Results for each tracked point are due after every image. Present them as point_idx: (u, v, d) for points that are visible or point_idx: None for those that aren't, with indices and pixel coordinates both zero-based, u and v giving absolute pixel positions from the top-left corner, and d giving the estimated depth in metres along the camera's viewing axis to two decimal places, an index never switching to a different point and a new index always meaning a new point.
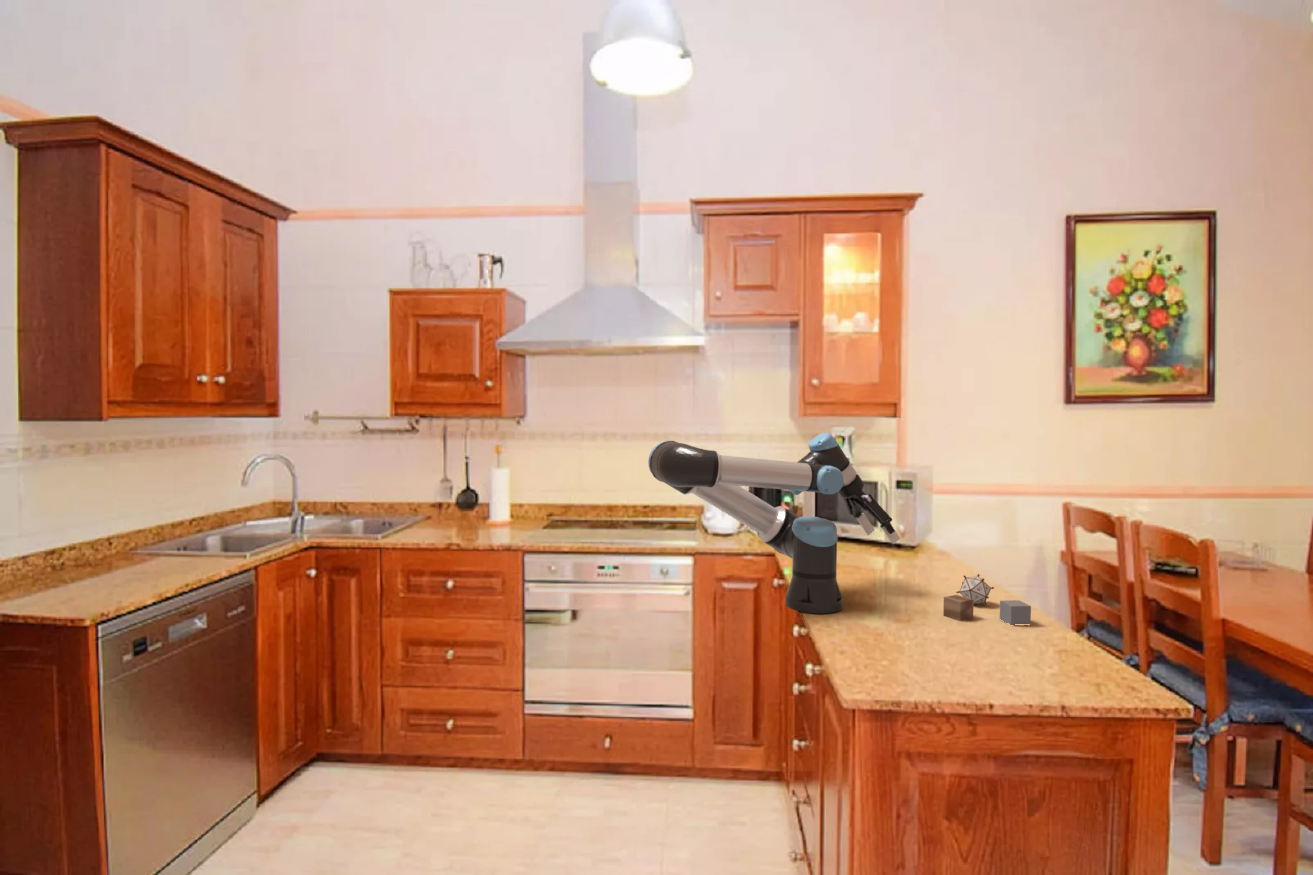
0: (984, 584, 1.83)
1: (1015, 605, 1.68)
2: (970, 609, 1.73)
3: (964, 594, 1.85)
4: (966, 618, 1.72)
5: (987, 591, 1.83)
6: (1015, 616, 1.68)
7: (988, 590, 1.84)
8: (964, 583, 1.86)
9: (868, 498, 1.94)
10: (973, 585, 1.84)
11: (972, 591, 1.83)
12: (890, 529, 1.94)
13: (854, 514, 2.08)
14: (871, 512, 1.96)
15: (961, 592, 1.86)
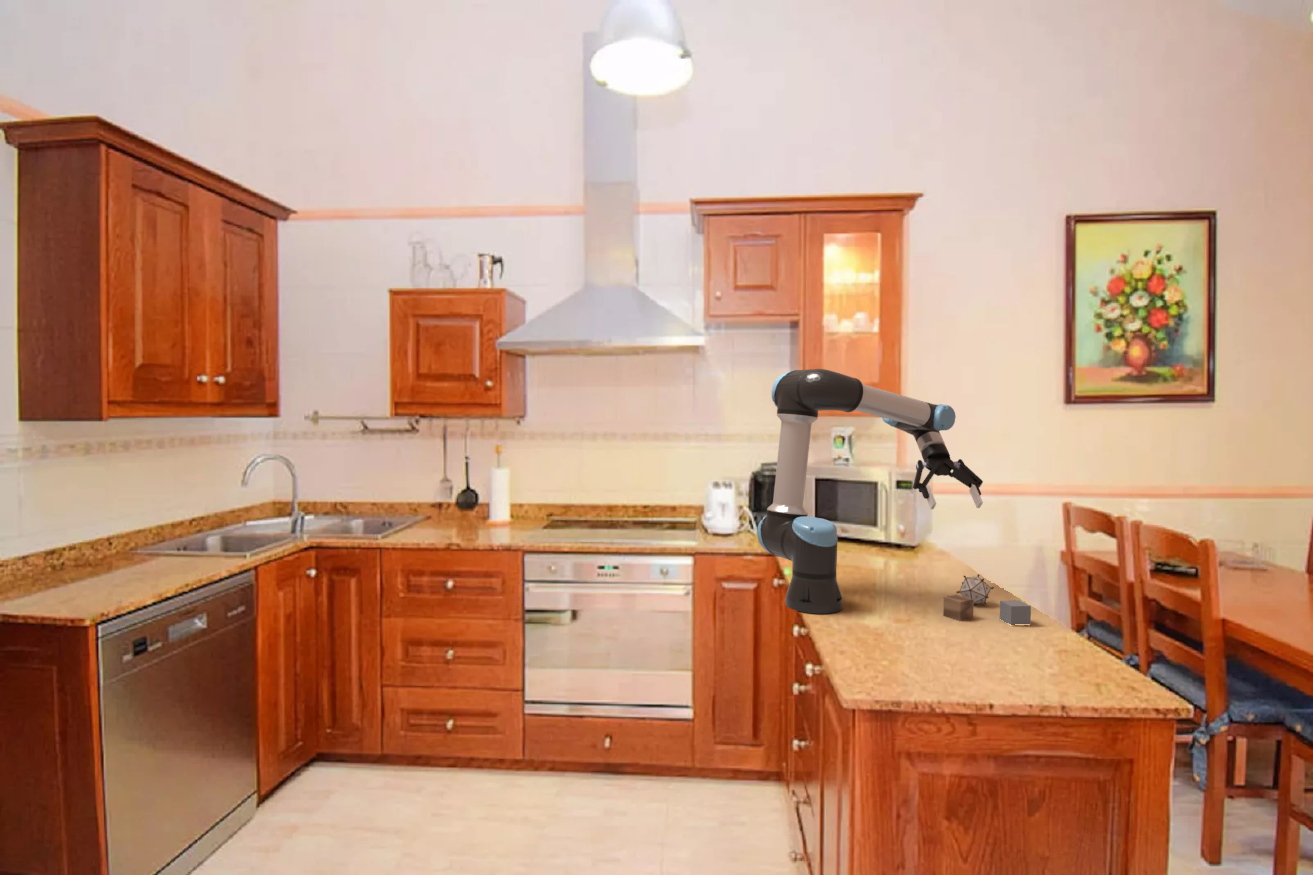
0: (984, 584, 1.83)
1: (1015, 605, 1.68)
2: (970, 609, 1.73)
3: (964, 594, 1.85)
4: (966, 618, 1.72)
5: (987, 591, 1.83)
6: (1015, 616, 1.68)
7: (988, 590, 1.84)
8: (964, 583, 1.86)
9: None
10: (973, 585, 1.84)
11: (972, 591, 1.83)
12: None
13: (926, 481, 1.99)
14: None
15: (961, 592, 1.86)
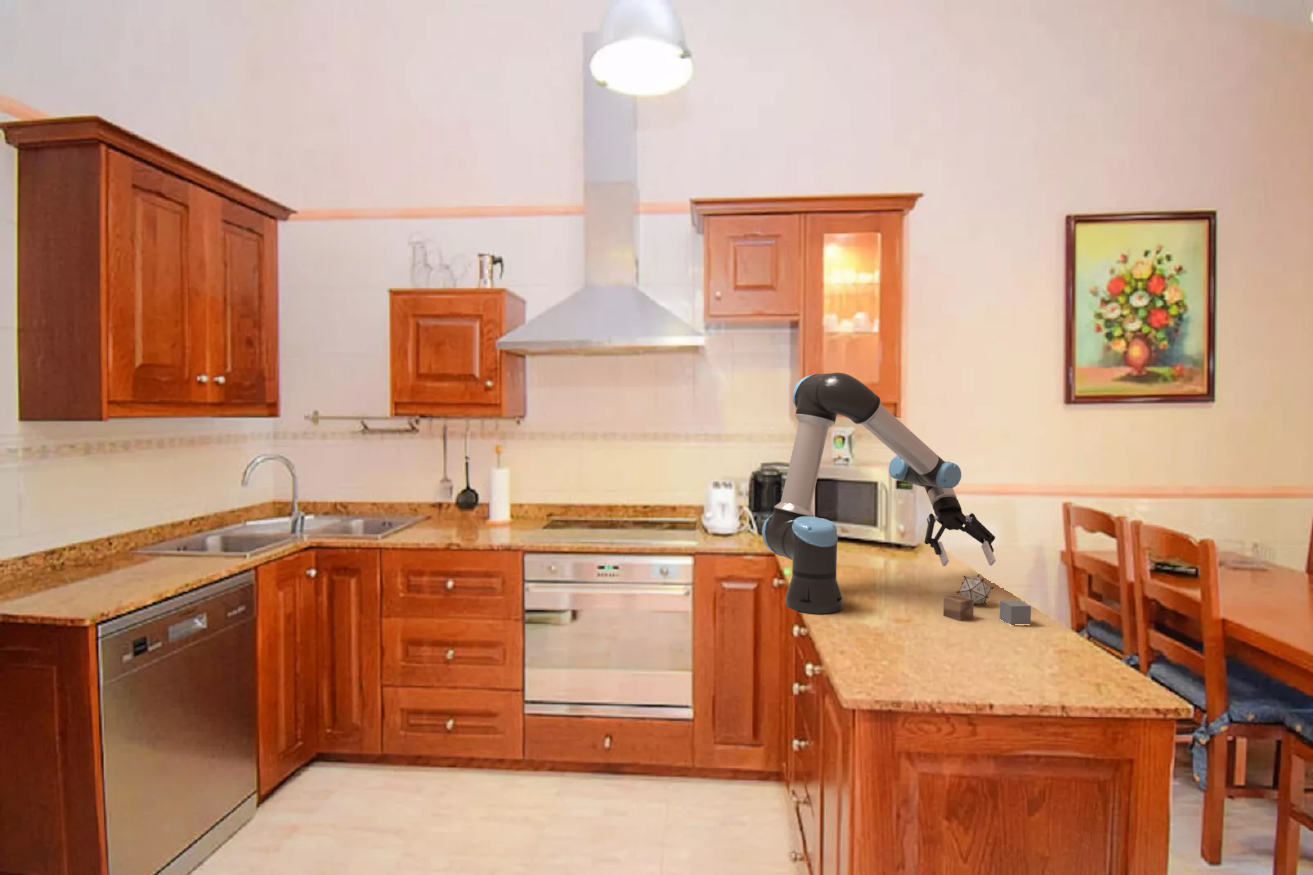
0: (984, 584, 1.83)
1: (1015, 605, 1.68)
2: (970, 609, 1.73)
3: (964, 594, 1.85)
4: (966, 618, 1.72)
5: (987, 591, 1.83)
6: (1015, 616, 1.68)
7: (988, 590, 1.84)
8: (964, 583, 1.86)
9: None
10: (973, 585, 1.84)
11: (972, 591, 1.83)
12: None
13: (938, 537, 1.95)
14: (975, 528, 1.98)
15: (961, 592, 1.86)
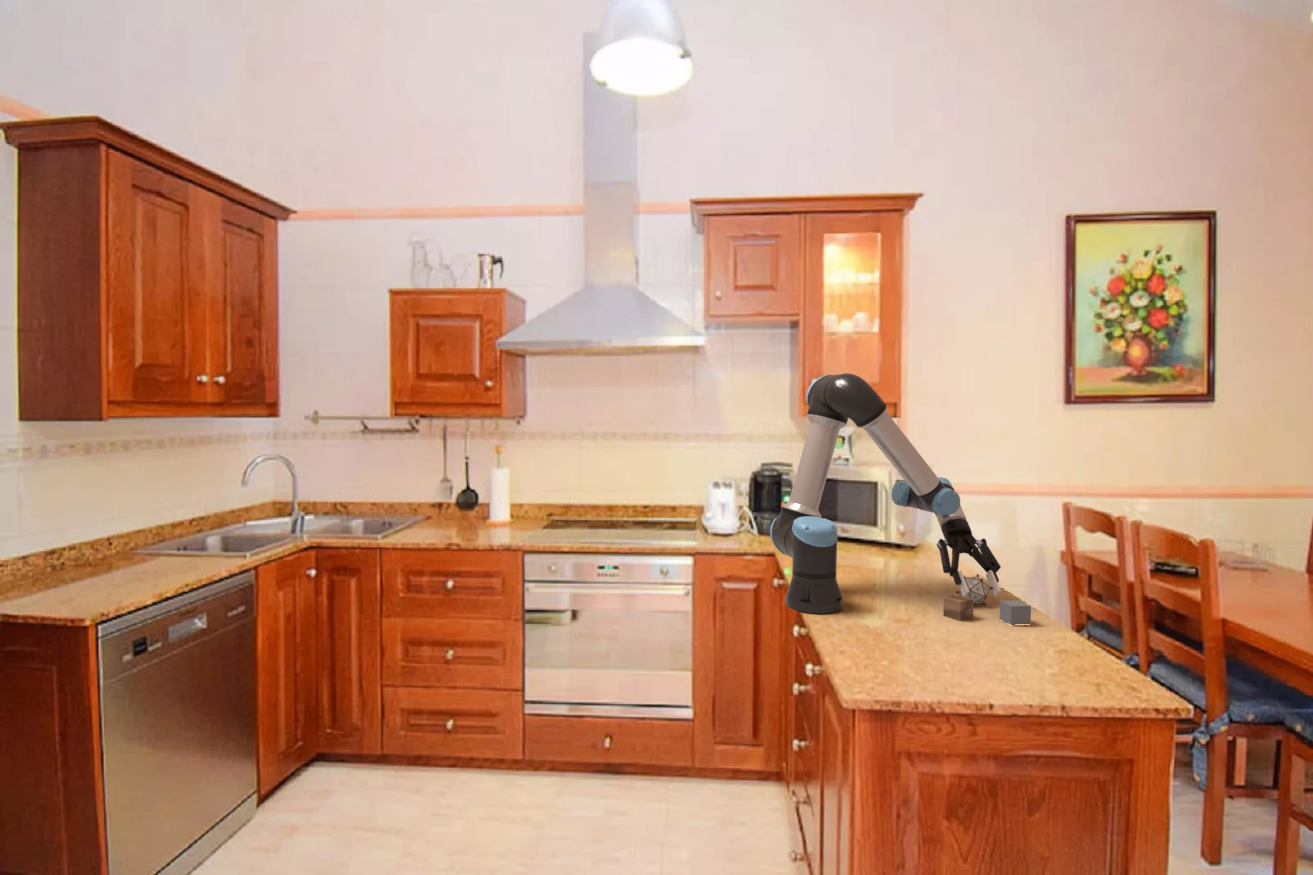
0: (983, 584, 1.83)
1: (1015, 605, 1.68)
2: (970, 609, 1.73)
3: None
4: (966, 618, 1.72)
5: (986, 591, 1.83)
6: (1015, 616, 1.68)
7: (987, 590, 1.84)
8: None
9: None
10: (972, 585, 1.83)
11: (971, 591, 1.83)
12: None
13: (956, 565, 1.87)
14: (982, 555, 1.90)
15: (960, 592, 1.86)
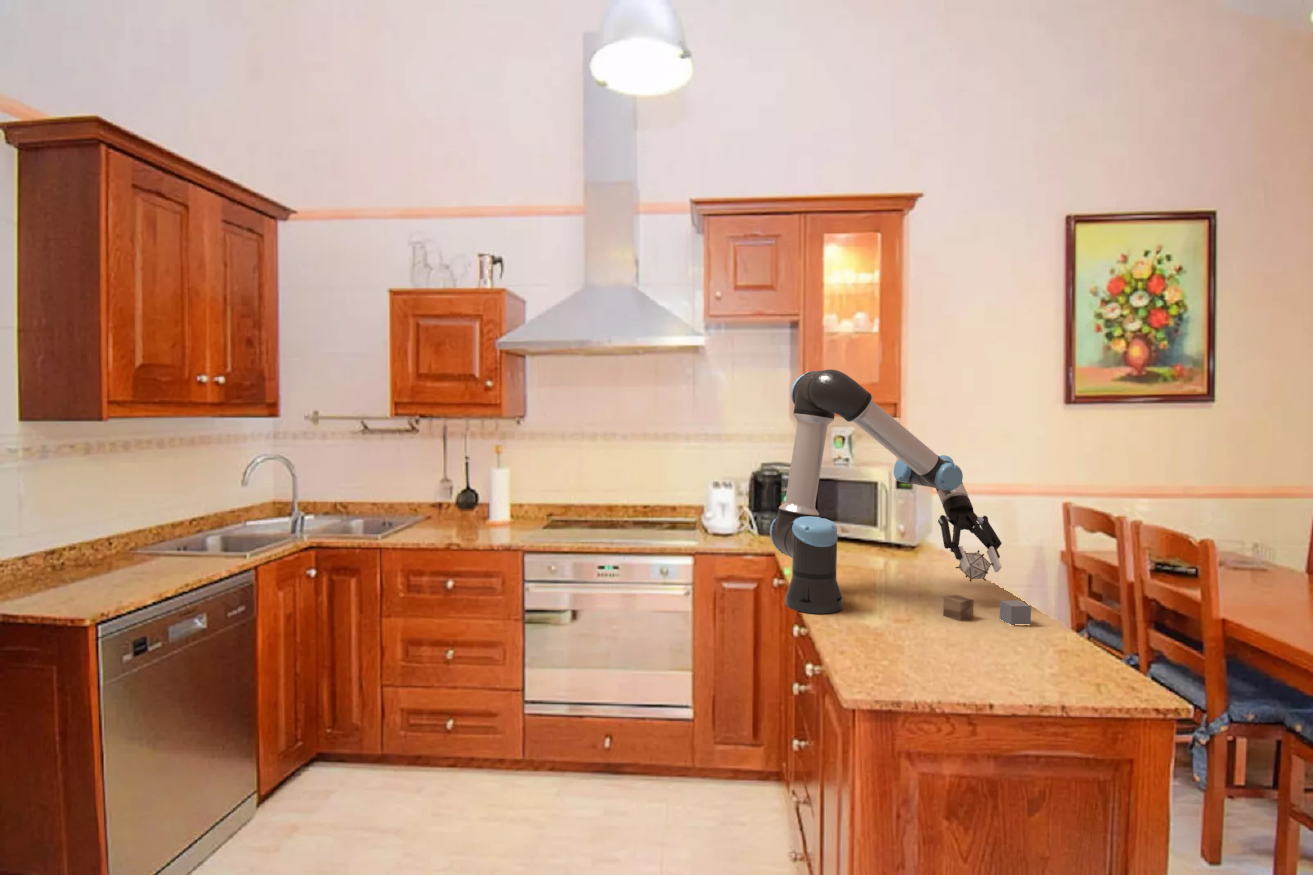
0: (984, 559, 1.83)
1: (1015, 605, 1.68)
2: (970, 609, 1.73)
3: None
4: (966, 618, 1.72)
5: (986, 567, 1.83)
6: (1015, 616, 1.68)
7: (988, 566, 1.83)
8: None
9: None
10: (973, 560, 1.83)
11: (971, 566, 1.83)
12: None
13: (957, 540, 1.87)
14: (984, 532, 1.90)
15: (960, 567, 1.86)
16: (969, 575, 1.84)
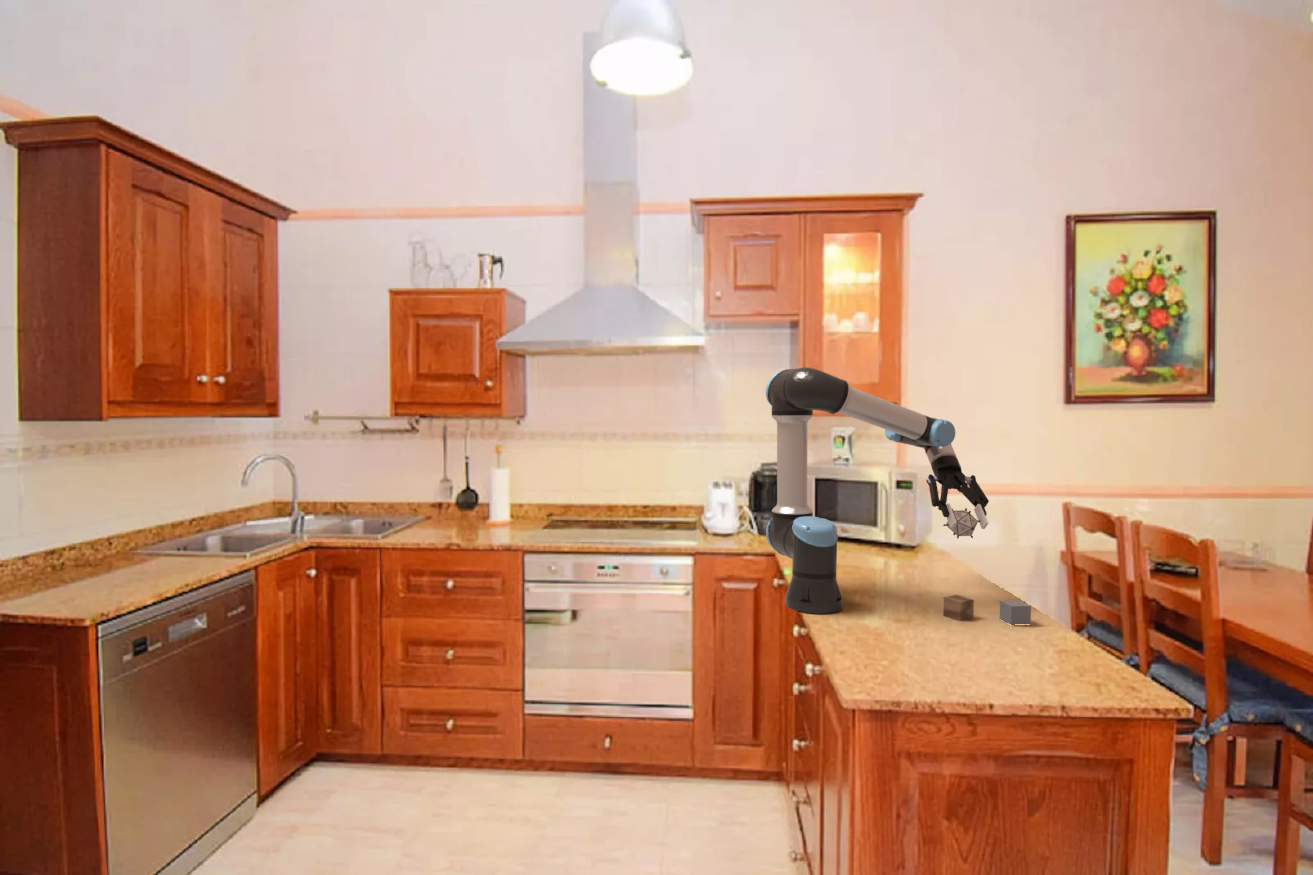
0: (971, 516, 1.85)
1: (1015, 605, 1.68)
2: (970, 609, 1.73)
3: None
4: (966, 618, 1.72)
5: (973, 523, 1.85)
6: (1015, 616, 1.68)
7: (975, 523, 1.86)
8: None
9: None
10: (960, 517, 1.85)
11: (958, 523, 1.85)
12: None
13: (945, 498, 1.89)
14: (971, 490, 1.92)
15: (948, 525, 1.88)
16: (956, 532, 1.86)
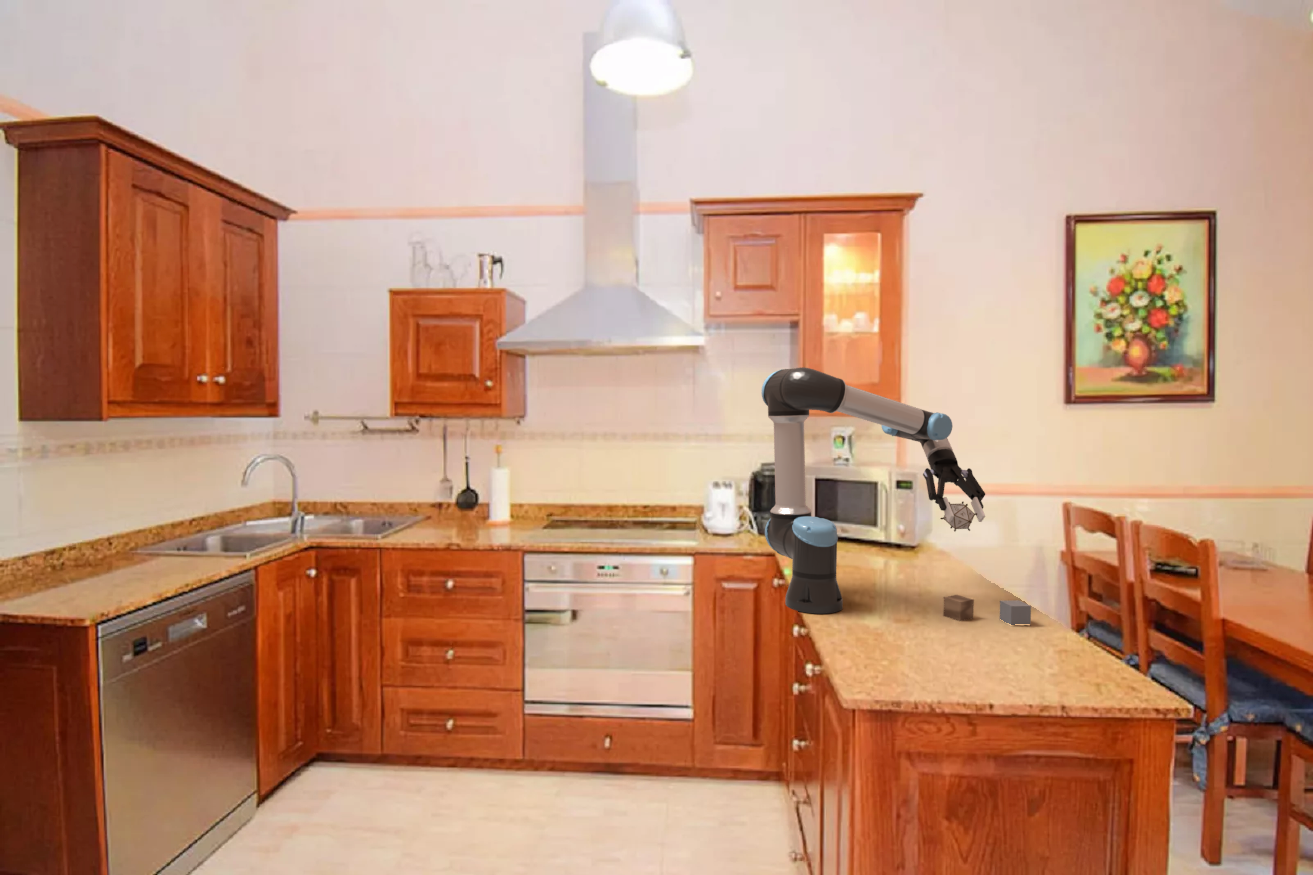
0: (968, 509, 1.86)
1: (1015, 605, 1.68)
2: (970, 609, 1.73)
3: None
4: (966, 618, 1.72)
5: (970, 516, 1.86)
6: (1015, 616, 1.68)
7: (971, 515, 1.86)
8: None
9: None
10: (957, 510, 1.86)
11: (955, 516, 1.85)
12: None
13: (941, 492, 1.90)
14: (968, 483, 1.92)
15: (945, 518, 1.89)
16: (953, 525, 1.87)
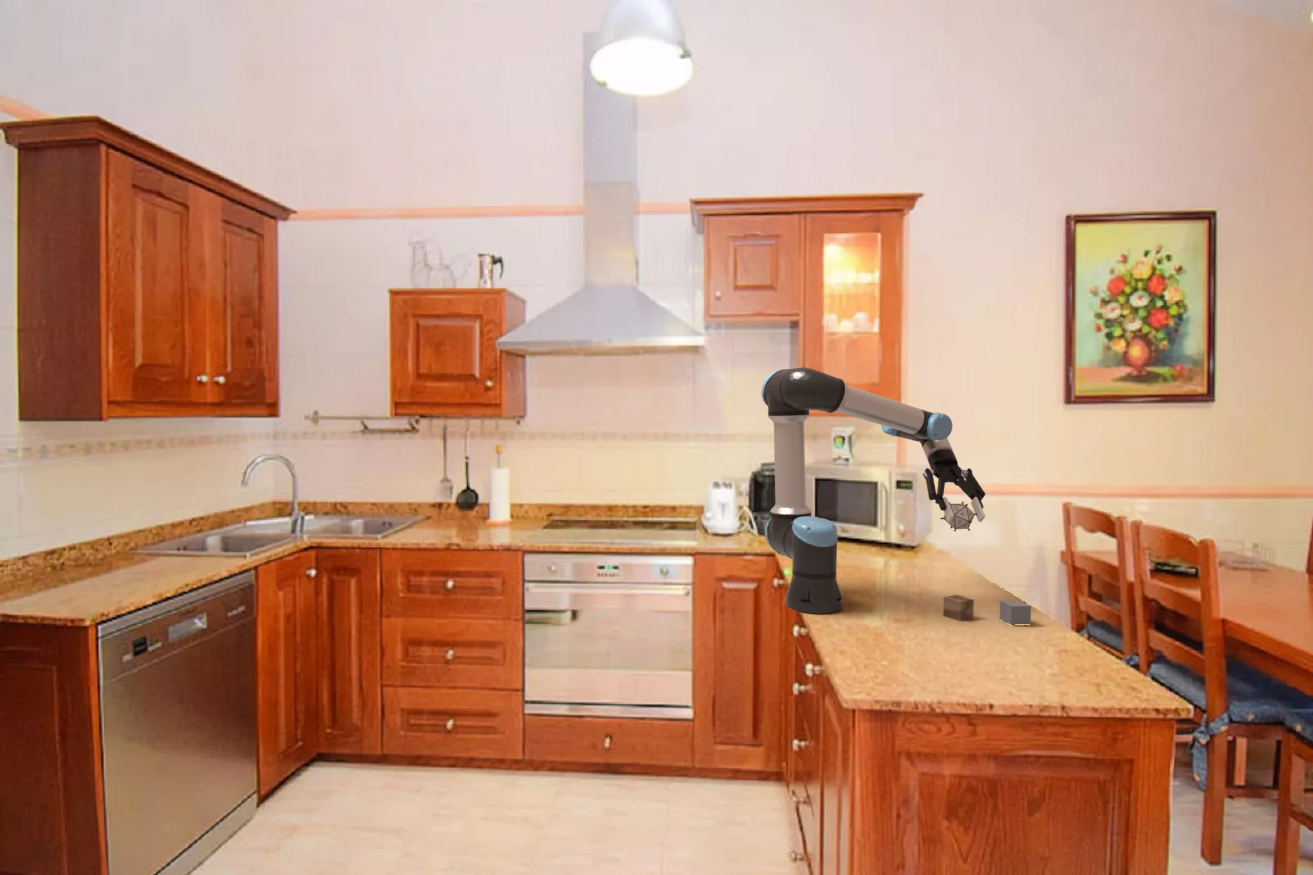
0: (968, 509, 1.86)
1: (1015, 605, 1.68)
2: (970, 609, 1.73)
3: None
4: (966, 618, 1.72)
5: (970, 516, 1.86)
6: (1015, 616, 1.68)
7: (971, 515, 1.86)
8: None
9: None
10: (957, 510, 1.86)
11: (955, 516, 1.85)
12: None
13: (941, 492, 1.90)
14: (968, 483, 1.92)
15: (945, 518, 1.89)
16: (953, 525, 1.87)
